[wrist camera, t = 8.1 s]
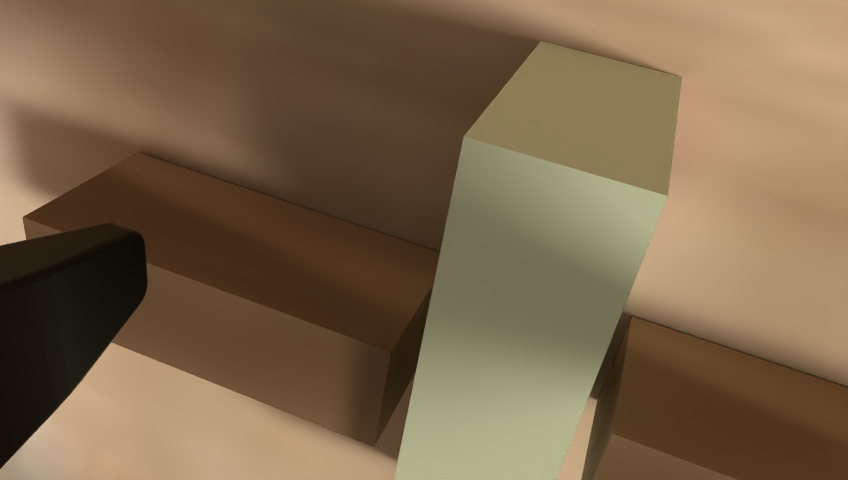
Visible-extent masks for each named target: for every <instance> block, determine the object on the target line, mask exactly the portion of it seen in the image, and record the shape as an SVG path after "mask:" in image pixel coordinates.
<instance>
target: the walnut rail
mask: <svg viewBox="0 0 848 480" xmlns="http://www.w3.org/2000/svg"><path fill="white" fill-rule="evenodd" d="M23 223H24V229H25V234H26V240H29V239H34V238H38V237H43V236H48V235H52V234H57V233H62V232H66V231H71V230H76V229H80V228H85V227H90V226H94V225H99V224H104V223H117V224H120V225H123V226H125V227H128V228H131V229H134V230H136V231H138V232H139V233H141V234H142V236H143V238H144V240H145V249H146V263H147V278H148V286H147V291H146V294H145V297H144V299H143V301H142V302H141V304H140V305H139V306H138V308H137V309H136V310H135V312H134V313H133V314H132V316H131V317H130V318H129V319H128V321H127V322H126V323H125V325H124V326H123V327H122V329H121V330H120V331H119V332H118V334H117V335H116V336H115V338H114V339H113V340H112V343H115V344H117V345H120V346H122V347H125V348H127V349H130V350H132V351H135V352H137V353H140V354H142V355H145V356H147V357H150V358H152V359H155V360H157V361H160V362H162V363H165V364H167V365H170V366H172V367H175V368H177V369H180V370H182V371H185V372H187V373H190V374H192V375H195V376H197V377H200V378H202V379H205V380H207V381H210V382H213V383H215V384H218V385H220V386H223V387H225V388H228V389H230V390H233V391H235V392H238V393H240V394H243V395H245V396H248V397H250V398H253V399H255V400H258V401H260V402H263V403H265V404H268V405H270V406H273V407H275V408H278V409H280V410H283V411H285V412H288V413H290V414H293V415H295V416H298V417H300V418H303V419H305V420H308V421H310V422H313V423H315V424H318V425H320V426H323V427H326V428H328V429H331V430H333V431H336V432H338V433H341V434H343V435H346V436H348V437H351V438H353V439H356V440H358V441H361V442H363V443H366V444H368V445H371V446H373V447H374V446H375V444H376V443H377V441H378V439H379V437H380V435H381V433H382V432H383V430H384V428H385V426H386V424H387V422H388V421H389V419H390V417H391V415H392V413H393V412H394V410H395V408H396V406H397V404H398V402H399V401H400V399H401V397H402V395H403V393H404V392H405V390H406V388H407V386H408V384H409V382H410V381H411V379H412V377H413V375H414V373H415V371H416V369H417V364H418V359H419V354H420V349H421V344H422V339H423V334H424V329H425V324H426V319H427V314H428V309H429V305H430V300H431V295H432V290H433V285H434V280H435V275H436V270H437V265H438V260H439V255H440V252H437V251H434V250H431V249H428V248H425V247H422V246H419V245H416V244H413V243H410V242H407V241H404V240H401V239H398V238H395V237H391V236H388V235H385V234H382V233H379V232H376V231H373V230H370V229H367V228H364V227H361V226H358V225H355V224H352V223H349V222H346V221H343V220H340V219H337V218H334V217H331V216H328V215H325V214H322V213H319V212H316V211H313V210H310V209H307V208H304V207H301V206H298V205H295V204H292V203H289V202H286V201H283V200H280V199H277V198H274V197H271V196H268V195H265V194H262V193H259V192H256V191H253V190H250V189H247V188H244V187H241V186H238V185H235V184H232V183H228V182H225V181H222V180H219V179H216V178H213V177H210V176H207V175H204V174H201V173H198V172H195V171H192V170H189V169H186V168H183V167H180V166H177V165H174V164H171V163H168V162H165V161H162V160H159V159H156V158H153V157H150V156H147V155H144V154H141V153H137V154H135V155H133V156H131V157H129V158H128V159H126V160H124V161H122V162H120V163H119V164H117V165H115V166H113V167H111V168H110V169H108V170H106V171H104V172H103V173H101V174H99V175H97V176H95V177H94V178H92V179H90V180H88V181H86V182H85V183H83V184H81V185H79V186H77V187H76V188H74V189H72V190H70V191H69V192H67V193H65V194H63V195H61V196H60V197H58V198H56V199H54V200H52V201H51V202H49V203H47V204H45V205H43V206H42V207H40V208H38V209H36V210H35V211H33V212H31V213H29V214H27V215H26V216H24V217H23ZM581 480H848V388H847V387H844V386H841V385H838V384H835V383H832V382H829V381H826V380H823V379H820V378H817V377H814V376H811V375H808V374H805V373H802V372H799V371H796V370H793V369H790V368H787V367H784V366H781V365H778V364H775V363H772V362H769V361H766V360H763V359H760V358H757V357H754V356H751V355H748V354H745V353H742V352H739V351H736V350H733V349H730V348H727V347H724V346H721V345H718V344H714V343H711V342H708V341H705V340H702V339H699V338H696V337H693V336H690V335H687V334H684V333H681V332H678V331H675V330H672V329H669V328H666V327H663V326H660V325H657V324H654V323H651V322H648V321H645V320H642V319H639V318H636V317H633V316H632V317H631V320H630V322H629V325H628V327H627V330H626V332H625V334H624V337H623V339H622V342H621V344H620V347H619V349H618V352H617V354H616V356H615V359H614V361H613V364H612V366H611V369H610V371H609V374H608V376H607V379H606V381H605V383H604V386H603V388H602V391H601V393H600V396H599V398H598V401H597V405H596V410H595V415H594V420H593V425H592V430H591V435H590V440H589V445H588V449H587V454H586V459H585V464H584V469H583V474H582V479H581Z"/></svg>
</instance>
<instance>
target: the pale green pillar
mask: <svg viewBox="0 0 848 480" xmlns="http://www.w3.org/2000/svg"><path fill="white" fill-rule="evenodd" d="M681 80H682V77H679V76H676V75H672V74H668V73H664V72H660V71H656V70H652V69H648V68H644V67H641V66H637V65H633V64H629V63H625V62H621V61H617V60H613V59H609V58H606V57H602V56H598V55H594V54H590V53H586V52H582V51H578V50H574V49H571V48H567V47H563V46H559V45H555V44H551V43H547V42H543V41H541V42H540V43H539V44H538V45H537V47H536V48H535V49H534V50H533V51H532V53H531V54H530V55H529V56H528V58H527V59H526V60H525V61H524V63H523V64H522V65H521V66H520V68H519V69H518V70H517V71H516V72H515V74H514V75H513V76H512V77H511V79H510V80H509V81H508V82H507V84H506V85H505V86H504V87H503V88H502V90H501V91H500V92H499V93H498V95H497V96H496V97H495V98H494V100H493V101H492V102H491V103H490V105H489V106H488V107H487V108H486V109H485V111H484V112H483V113H482V114H481V116H480V117H479V118H478V119H477V121H476V122H475V123H474V124H473V125H472V127H471V128H470V129H469V130H468V132H467V133H466V134H465V135H464V137H463V142H462V147H461V152H460V157H459V162H458V167H457V171H456V176H455V181H454V186H453V191H452V196H451V201H450V206H449V211H448V216H447V221H446V226H445V231H444V236H443V240H442V245H441V250H440V255H439V260H438V265H437V270H436V275H435V280H434V285H433V290H432V295H431V300H430V305H429V309H428V314H427V319H426V324H425V329H424V334H423V339H422V344H421V349H420V354H419V359H418V364H417V369H416V374H415V378H414V383H413V388H412V393H411V398H410V403H409V408H408V413H407V418H406V423H405V428H404V433H403V438H402V443H401V447H400V452H399V457H398V462H397V467H396V472H395V477H394V480H556V479H557V476H558V474H559V471H560V468H561V466H562V463H563V461H564V458H565V456H566V453H567V451H568V448H569V446H570V443H571V441H572V438H573V435H574V433H575V430H576V428H577V425H578V423H579V420H580V418H581V415H582V413H583V410H584V408H585V405H586V402H587V400H588V397H589V395H590V392H591V390H592V387H593V385H594V382H595V380H596V377H597V375H598V372H599V369H600V367H601V364H602V362H603V359H604V357H605V354H606V352H607V349H608V347H609V344H610V342H611V339H612V336H613V334H614V331H615V329H616V326H617V324H618V321H619V319H620V316H621V314H622V311H623V309H624V306H625V303H626V301H627V298H628V296H629V293H630V291H631V288H632V286H633V283H634V281H635V278H636V276H637V273H638V270H639V268H640V265H641V263H642V260H643V258H644V255H645V253H646V250H647V248H648V245H649V243H650V240H651V237H652V235H653V232H654V230H655V227H656V225H657V222H658V220H659V217H660V215H661V212H662V210H663V207H664V204H665V202H666V199H667V197H668V190H669V182H670V173H671V165H672V156H673V148H674V140H675V131H676V123H677V114H678V106H679V97H680V89H681Z"/></svg>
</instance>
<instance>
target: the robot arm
mask: <svg viewBox="0 0 848 480" xmlns="http://www.w3.org/2000/svg"><path fill="white" fill-rule="evenodd" d="M147 286H148V278H147V263H146V249H145V240H144V238H143V236H142V234H141V233H139V232H138V231H136V230H134V229H131V228H128V227H125V226H123V225H120V224H117V223H104V224H99V225H94V226H90V227H85V228H80V229H76V230H71V231H66V232H62V233H57V234H52V235H48V236H43V237H38V238H34V239H29V240H24V241H20V242H15V243H10V244H6V245H1V246H0V469H1V468H2V467H3V466H4V465H5V463H6V462H7V461H8V460H9V459H10V458H11V457H12V456H13V455H14V454H15V453H16V452H17V451H18V450H19V449H20V448H21V447H22V445H23V444H24V443H25V442H26V441H27V440H28V439H29V438H30V437H31V436H32V435H33V434H34V433H35V432H36V431H37V430H38V429H39V427H40V426H41V425H42V424H43V423H44V422H45V421H46V420H47V419H48V418H49V417H50V416H51V415H52V414H53V413H54V412H55V411H56V409H57V408H58V407H59V406H60V405H61V404H62V403H63V402H64V401H65V399H66V398H67V397H68V396H69V395H70V394H71V393H72V391H73V390H74V389H75V388H76V387H77V385H78V384H79V383H80V382H81V380H82V379H83V378H84V377H85V375H86V374H87V373H88V372H89V370H90V369H91V368H92V366H93V365H94V364H95V362H96V361H97V360H98V358H99V357H100V356H101V355H102V353H103V352H104V351H105V349H106V348H107V347H108V345H109V344H110V343H111V342H112V340H113V339H114V338H115V336H116V335H117V334H118V332H119V331H120V330H121V329H122V327H123V326H124V325H125V323H126V322H127V321H128V319H129V318H130V317H131V316H132V314H133V313H134V312H135V310H136V309H137V308H138V306H139V305H140V304H141V302H142V301H143V299H144V297H145V294H146V291H147Z"/></svg>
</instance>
